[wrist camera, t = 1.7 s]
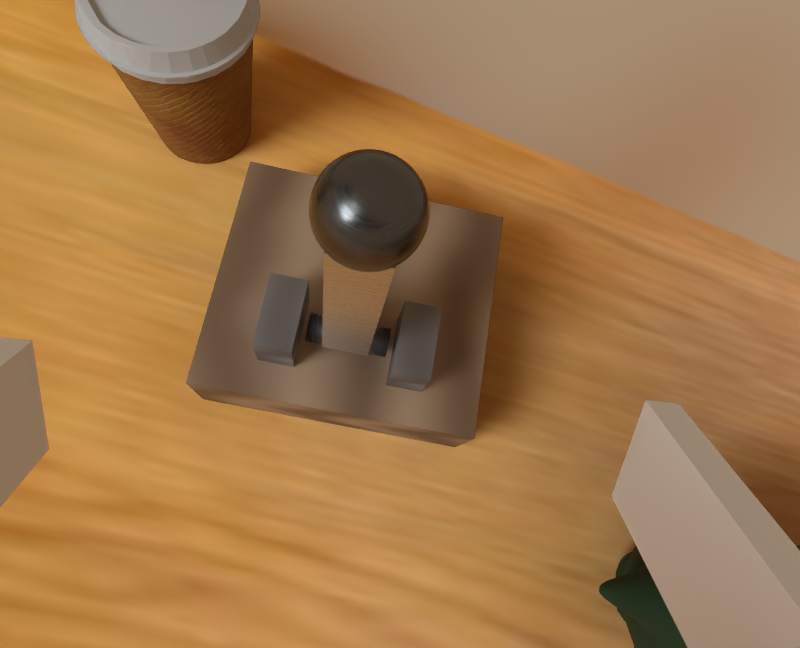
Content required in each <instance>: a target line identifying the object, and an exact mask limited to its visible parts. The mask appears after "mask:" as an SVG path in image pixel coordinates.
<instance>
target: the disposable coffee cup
mask: <svg viewBox="0 0 800 648" xmlns="http://www.w3.org/2000/svg"><path fill="white" fill-rule="evenodd" d="M75 10H76V18H77V21H78V24H79V27H80V29H81V31H82V33H83V35H84V37H85V38H86V40H87V42H88V43H89V44H90V45H91V46H92V47H93V48H94V50H95V51H96V52H97V53H98V54H99V55H100V56H101V57H102V58H104V59H105V60H107V61H108V62H110V63H111V65H112V66H113V67H114V69H115V70H116V72H117V73H118V75H119V76H120V78H121V79H122V81H123V82H124V83H125V85H126V87H127V88H128V90H129V91H130V93H131V94H132V95H133V97H134V98H135V100H136V101H137V103H138V105H139V106H140V108H141V109H142V111H143V112H144V113H145V115H146V116H147V118H148V119H149V121H150V122H151V124H152V125H153V127H154V128H155V129H156V131H157V133H158V134H159V136H160V137H161V139H162V140H163V142H164V143H165V145H166V146H167V147H168V148H169V149H170V150H171V151H172V152H173V153H174V154H175V155H177V156H178V157H180V158H182V159H185V160H187V161H190V162H195V163H202V164H208V163H216V162H220V161H224V160H226V159H228V158H230V157H232V156H233V155H235V154H236V153H238V152H239V151H240V150H241V149H242V147H243V146H244V145H245V143H246V141H247V140H248V138H249V134H250V131H251V94H252V59H253V37H254V34H255V32H256V30H257V27H258V22H259V18H260V4H259V0H75Z"/></svg>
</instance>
